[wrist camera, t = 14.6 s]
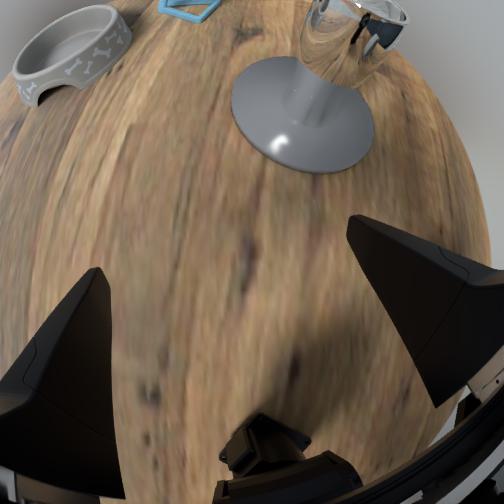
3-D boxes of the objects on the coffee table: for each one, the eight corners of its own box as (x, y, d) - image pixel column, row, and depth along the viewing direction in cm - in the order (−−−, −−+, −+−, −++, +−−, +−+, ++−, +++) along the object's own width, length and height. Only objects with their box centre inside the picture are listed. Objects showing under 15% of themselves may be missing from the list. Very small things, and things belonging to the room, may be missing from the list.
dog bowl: (39, 48, 23) (29, 29, 18) (138, 14, 26) (134, -11, 21) (8, 123, 21) (-11, 104, 16) (125, 80, 24) (115, 48, 19)
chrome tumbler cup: (287, 75, 25) (330, -32, 11) (343, 101, 26) (410, 8, 11) (265, 114, 24) (310, -14, 9) (330, 144, 25) (416, 39, 10)
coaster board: (387, 118, 28) (391, 114, 27) (330, 206, 25) (334, 203, 24) (284, 46, 27) (286, 41, 26) (198, 111, 24) (198, 105, 23)
